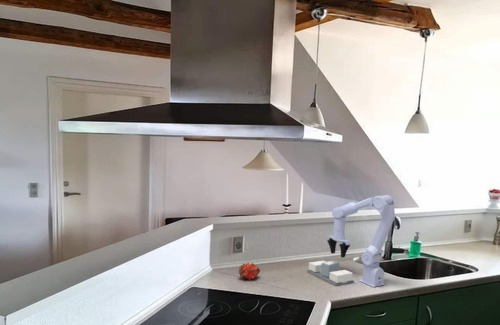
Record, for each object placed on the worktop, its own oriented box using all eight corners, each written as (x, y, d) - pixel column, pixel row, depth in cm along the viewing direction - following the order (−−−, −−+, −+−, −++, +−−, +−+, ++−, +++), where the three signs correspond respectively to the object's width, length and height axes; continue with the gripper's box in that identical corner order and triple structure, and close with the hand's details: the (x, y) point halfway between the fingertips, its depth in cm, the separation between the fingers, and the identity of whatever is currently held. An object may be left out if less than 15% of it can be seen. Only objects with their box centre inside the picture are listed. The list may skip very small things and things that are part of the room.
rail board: (354, 282, 182) (354, 272, 182) (335, 286, 176) (335, 276, 176) (324, 269, 201) (325, 260, 201) (307, 271, 195) (307, 262, 195)
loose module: (338, 273, 190) (339, 262, 190) (328, 277, 184) (329, 265, 184) (331, 271, 193) (332, 259, 193) (321, 274, 187) (321, 263, 187)
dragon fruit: (235, 282, 180) (257, 283, 185) (243, 277, 174) (265, 277, 179) (234, 265, 185) (255, 266, 190) (241, 259, 179) (263, 260, 184)
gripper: (354, 232, 192) (353, 258, 192) (335, 226, 204) (334, 250, 205) (344, 233, 188) (343, 259, 189) (325, 227, 201) (324, 252, 201)
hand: (337, 255), depth 196 cm, fingers open, 7 cm apart
